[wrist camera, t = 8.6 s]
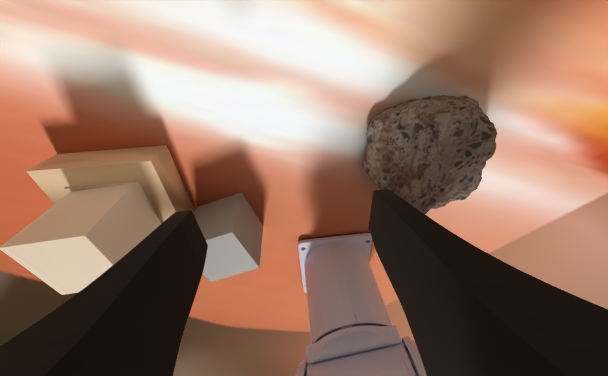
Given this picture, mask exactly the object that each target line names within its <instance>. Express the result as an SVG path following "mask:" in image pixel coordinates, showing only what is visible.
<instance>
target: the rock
mask: <svg viewBox="0 0 608 376" xmlns="http://www.w3.org/2000/svg"><path fill="white" fill-rule="evenodd" d="M496 135H497V131H496V129H495V127H494V124H493V123H492V122H490V120H489V118H488V116H486V115H485V114H483V112H482V110H481V108H480V107H479V104H478V101H476V100H474V99H472V98H468V97H467V96H462V97H452V96H436V97H427V98H423V99H422V100H410V101H408V102H407V103H403V104H400V105H398V106H396V107H393V108H388V109H386V110H384V111H383V112H382V113H380V114H379V115H375V116H374V117H373V119H372V120H371V123H370V125H369V126H368V128H367V136H368V146H367V151H366V159H365V160H364V161H363V162H362V167H363V168H364V170H365V171H366V172H367V173H368V175H369V176H370V178H371V179H372V180H373V181H374V182H375V183H376V184H377V186H378V187H379V188H380V189H381V190H386V189H389V190H391V191H392V192H394V193H395V194H397V195H398V196H399V197H401V198H402V199H404V200H405V201H406V202H408V203H409V204H411V205H412V206H413V207H415V208H416V209H418V210H419V211H420V212H422V213H423V214H426V213H427V212H428V211H429V210H430V209H431V208H433V209H437V208H439V207H443V206H445V205H446V204H447V203H449V202H451V201H455V200H459V199H460V200H464V199H465V198H467V197H468V196H469V195H470V193H471V192H472V191H474V190H476V189H477V187H478V185H479V183H480V181H481V179H482V177H481V175H482V169H483V168H484V167H485V165H486V161H487V160H488V159H490V158H491V157H492V156H493V154H494V153H495V149H496V143H495V138H496Z"/></svg>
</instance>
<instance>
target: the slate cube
mask: <svg viewBox="0 0 608 376" xmlns="http://www.w3.org/2000/svg"><path fill="white" fill-rule="evenodd" d="M194 216H195V218H196V221H197V223H198V225H199V227H200V229H201V231H202V234H203V236H204V238H205V240H206V242H207V244H208V249H207V255H206V260H205V265H204V270H203V273H202V274H203V275H204V276H205V277H206V278H207V279H208V280H209V281H210V282H212V281H216V280H219V279H223V278H226V277H229V276H233V275H236V274H240V273H243V272H246V271H250V270H253V269H257V268H259V266H260V254H261V243H262V232H263V225H262V223H261V222H260V220H259V218H258V217H257V215H256V214H255V212H254V211H253V209H252V207H251V206H250V204H249V203H248V201H247V199H246V198H245V196H244V195H243V193H242V192H240V193H237V194H234V195H231V196H228V197H225V198H222V199H219V200H216V201H213V202H210V203H207V204H205V205H202V206H199V207H197V208H196V210H195V212H194Z"/></svg>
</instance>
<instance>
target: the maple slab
mask: <svg viewBox="0 0 608 376" xmlns="http://www.w3.org/2000/svg"><path fill="white" fill-rule="evenodd" d="M26 172H27V173H28V174H29V175H30V176H31V177H32V179H33V180H34V181H35V182H36V183H37V184H38V185H39V187H40V188H41V189H42V190H43V191H44V192H45V193H46V195H47V196H48V197H49V198H50V199H51V200H52V201H53V203H54V204H56V203H57V202H58V201H59V200H61V199H62V198H63V197H65V196H66V195H67V194H68V193H70V192H72V191H79V190H86V189H93V188H100V187H107V186H114V185H121V184H128V183H135V184H136V185H137V187H138V188H139V190H140V191H141V193H142V194H143V196H144V197H145V199H146V200H147V202H148V203H149V205H150V206H151V208H152V209H153V211H154V212H155V214H156V215H157V217H158V218H159V220H160V221H161V223H163V222H164V221H165V220H166V219H168V218H169V217H170V216H171V215H172V214H174V213H175V212H179V211H188V210H192V212H193V214H194V212H195V210H194V208H193V205H192V203H191V201H190V198H189V196H188V194H187V191H186V189H185V187H184V184H183V182H182V180H181V177H180V175H179V173H178V170H177V168H176V166H175V163H174V161H173V159H172V156H171V154H170V152H169V149H168V147H167V145H160V146H148V147H136V148H124V149H111V150H99V151H87V152H74V153H62V154H56V155H55V156H53V157H51V158H49V159H47V160H46V161H44V162H42V163H40V164H38V165H37V166H35V167H33V168H31V169H29V170H28V171H26Z"/></svg>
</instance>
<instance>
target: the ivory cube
mask: <svg viewBox="0 0 608 376" xmlns="http://www.w3.org/2000/svg"><path fill="white" fill-rule="evenodd" d="M160 224H162V223H161V221H160V220H159V218H158V217H157V215H156V214H155V212H154V211H153V209H152V208H151V206H150V205H149V203H148V202H147V200H146V199H145V197H144V196H143V194H142V193H141V191H140V190H139V188H138V187H137V185H136V184H135V183H128V184H121V185H114V186H107V187H100V188H93V189H86V190H79V191H72V192H70V193H68V194H67V195H66V196H65V197H63V198H62V199H61V200H59V201H58V202H57V203H56V204H54V205H53V206H52V207H51V208H49V209H48V210H47V211H45V212H44V213H43V214H42V215H40V216H39V217H38V218H36V219H35V220H34V221H33V222H31V223H30V224H29V225H28V226H26V227H25V228H24V229H22V230H21V231H20V232H19V233H17V234H16V235H15V236H13V237H12V238H11V239H10V240H8V241H7V242H6V243H5V244H3V245H2V246H1V247H0V250H2V251H3V252H5V253H6V254H7V255H9V256H10V257H11V258H13V259H14V260H15V261H17V262H18V263H19V264H21V265H22V266H23V267H25V268H26V269H28V270H29V271H30V272H32V273H33V274H34V275H36V276H37V277H38V278H40V279H41V280H42V281H44V282H45V283H46V284H48V285H49V286H51V287H52V288H53V289H55V290H56V291H57V292H59V293H60V294H62V295H64V294H71V293H77V292H80V291H81V290H83V289H84V288H85V287H86V286H88V285H89V284H90V283H92V282H93V281H94V280H95V279H97V278H98V277H99V276H100V275H102V274H103V273H104V272H105V271H107V270H108V269H109V268H110V267H111V266H113V265H114V264H115V263H116V262H118V261H119V260H120V259H121V258H122V257H124V256H125V255H126V254H127V253H128V252H130V251H131V250H132V249H133V248H134V247H135V246H136V245H138V244H139V243H140V242H141V241H142V240H143V239H145V238H146V237H147V236H148V235H149V234H150V233H151V232H152V231H154V230H155V229H156V228H157V227H158V226H159V225H160Z"/></svg>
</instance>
